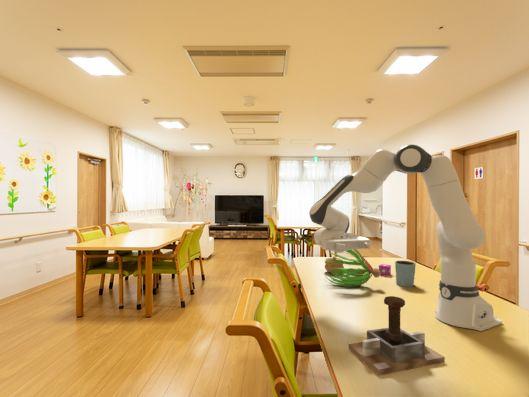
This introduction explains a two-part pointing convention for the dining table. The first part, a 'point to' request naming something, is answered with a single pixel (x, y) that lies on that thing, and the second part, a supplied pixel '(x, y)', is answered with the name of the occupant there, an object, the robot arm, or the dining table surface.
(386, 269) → the puzzle toy
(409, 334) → the square frame on board
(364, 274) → the decorative plant
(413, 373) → the dining table surface
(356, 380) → the dining table surface
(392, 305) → the bolt
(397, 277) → the blue gray cup
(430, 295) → the dining table surface
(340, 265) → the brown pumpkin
